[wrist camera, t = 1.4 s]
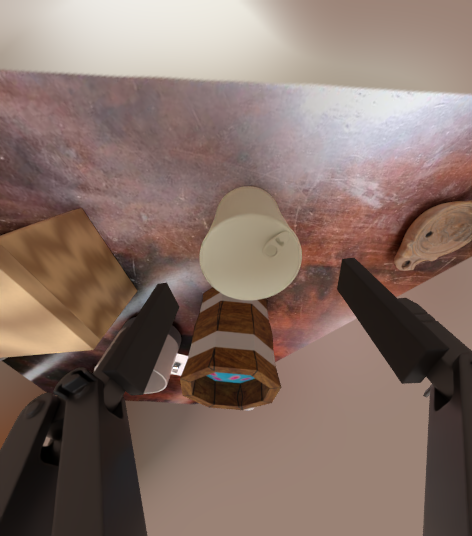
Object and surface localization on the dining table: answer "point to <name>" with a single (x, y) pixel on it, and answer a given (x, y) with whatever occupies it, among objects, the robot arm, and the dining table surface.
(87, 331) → the shelf
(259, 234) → the can
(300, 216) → the dining table surface
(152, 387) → the planter
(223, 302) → the mug
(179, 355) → the white paper sheet
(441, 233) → the oil lamp
